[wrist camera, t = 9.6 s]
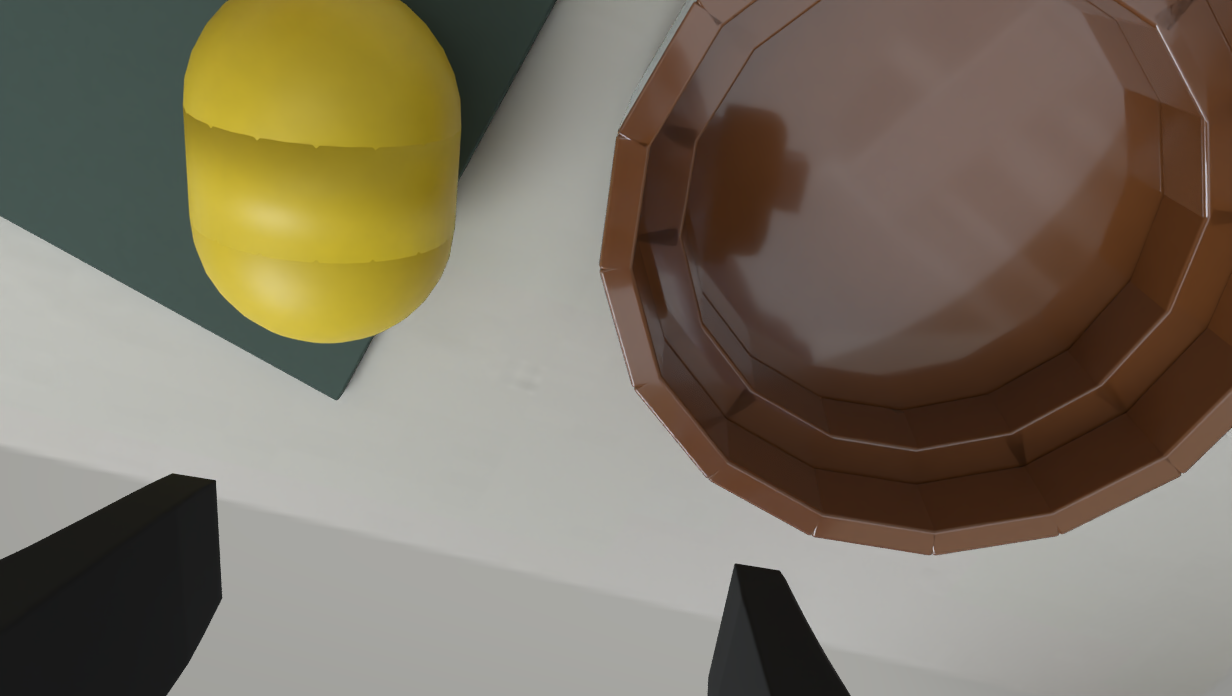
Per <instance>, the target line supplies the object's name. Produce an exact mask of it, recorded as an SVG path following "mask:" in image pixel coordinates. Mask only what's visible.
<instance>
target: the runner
mask: <svg viewBox="0 0 1232 696" xmlns="http://www.w3.org/2000/svg"><path fill="white" fill-rule="evenodd" d="M227 1H228V0H0V216H1V217H3V218H5V219H7V220H9V221H10V222H12V223H14V224H16V225H18V226H20V227H21V228H23V229H25V230H27V231H29V232H30V233H32V234H34V235H36V236H38V237H40V238H41V239H43V240H45V241H47V242H49V243H51V244H52V245H54V246H56V247H58V248H60V249H61V250H63V251H65V252H67V253H69V254H71V255H72V256H74V257H76V258H78V259H80V260H81V261H83V262H85V263H87V264H89V265H91V266H92V267H94V268H96V269H98V270H100V271H101V272H103V273H105V274H107V275H109V276H111V277H112V278H114V279H116V280H118V281H120V282H122V283H123V284H125V285H127V286H129V287H131V288H132V289H134V290H136V291H138V292H140V293H142V294H143V295H145V296H147V297H149V298H151V299H152V300H154V301H156V302H158V303H160V304H162V305H163V306H165V307H167V308H169V309H171V310H172V311H174V312H176V313H178V314H180V315H182V316H183V317H185V318H187V319H189V320H191V321H193V322H194V323H196V324H198V325H200V326H202V327H203V328H205V329H207V330H209V331H211V332H213V333H214V334H216V335H218V336H220V337H222V338H223V339H225V340H227V341H229V342H231V343H233V344H234V345H236V346H238V347H240V348H242V349H243V350H245V351H247V352H249V353H251V354H253V355H254V356H256V357H258V358H260V359H262V360H264V361H265V362H267V363H269V364H271V365H273V366H274V367H276V368H278V369H280V370H282V371H284V372H285V373H287V374H289V375H291V376H293V377H294V378H296V379H298V380H300V381H302V382H304V383H305V384H307V385H309V386H311V387H313V388H314V389H316V390H318V391H320V392H322V393H324V394H325V395H327V396H329V397H331V398H333V399H335V400H338V399H339V398H340V396H341V395H342V394H343V392H344V390H345V388H346V387H347V385H348V383H349V381H350V379H351V377H352V376H353V374H354V372H355V370H356V368H357V366H358V364H359V363H360V361H361V359H362V357H363V355H364V353H365V352H366V350H367V348H368V346H369V344H370V342H371V341H372V339H373V337H374V336H370V337H367V338H364V339H359V340H353V341H348V342H342V343H313V342H307V341H301V340H296V339H292V338H288V337H284V336H281V335H278V334H276V333H273V332H271V331H269V330H267V329H266V328H264V327H262V326H260V325H258V324H256V323H255V322H253V321H251V320H250V319H248V318H247V317H245V316H244V315H242V314H241V313H240V312H239V311H238V310H237V309H236V308H235V307H234V306H233V305H231V304H230V303H229V302H228V301H227V300H226V299H225V298H224V297H223V296H222V295H221V294H220V292H219V291H218V289H217V288H216V287H215V285H214V284H213V282H212V281H211V279H210V278H209V277H208V275H207V274H206V272H205V269H204V267H203V264H202V262H201V260H200V257H199V255H198V252H197V250H196V247H195V244H194V240H193V235H192V229H191V223H190V217H189V201H188V184H187V167H186V150H185V134H184V117H183V92H184V77H185V73H186V70H187V66H188V62H189V59H190V55H191V51H192V49H193V48H194V46H195V44H196V42H197V40H198V38H199V36H200V35H201V33H202V31H203V29H204V27H205V25H206V24H207V22H208V21H209V20H210V19H211V18H212V17H213V16H214V14H215V13H216V12H217V11H218V10H219V9H220V8H221V7H222V5H223V4H224V3H225V2H227ZM400 1H402V2H403V3H405V4H406V5H407V6H408V7H409V8H410V9H411V10H412V11H413V12H414V13H415V14H416V15H417V16H418V17H419V18H420V19H421V20H422V21H423V22H424V23H425V24H426V25H427V26H428V28H429V29H430V31H431V32H432V33H433V35H434V36H435V38H436V39H437V41H438V42H439V44H440V45H441V46H442V48H443V49H444V52H445V54H446V56H447V58H448V61H449V63H450V65H451V67H452V70H453V72H454V74H455V79H456V83H457V87H458V91H459V96H460V103H461V140H460V156H459V171H458V181H459V179H460V177H461V175H462V173H463V172H464V170H465V168H466V166H467V164H468V162H469V161H470V159H471V157H472V155H473V153H474V151H475V149H476V148H477V146H478V144H479V142H480V140H481V138H482V137H483V135H484V133H485V131H486V129H487V127H488V126H489V124H490V122H491V120H492V118H493V116H494V115H495V113H496V111H497V109H498V107H499V105H500V104H501V102H502V100H503V98H504V96H505V94H506V93H507V91H508V89H509V87H510V85H511V83H512V82H513V80H514V78H515V76H516V74H517V72H518V70H519V69H520V67H521V65H522V63H523V61H524V59H525V58H526V56H527V54H528V52H529V50H530V48H531V47H532V45H533V43H534V41H535V39H536V37H537V36H538V34H539V32H540V30H541V28H542V26H543V25H544V23H545V21H546V19H547V17H548V15H549V14H550V12H551V10H552V8H553V6H554V4H555V2H556V1H557V0H400Z"/></svg>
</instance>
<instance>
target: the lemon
mask: <svg viewBox="0 0 1232 696" xmlns="http://www.w3.org/2000/svg"><path fill="white" fill-rule="evenodd" d="M183 117H184V134H185V150H186V167H187V184H188V201H189V217H190V223H191V229H192V235H193V240H194V244H195V247H196V250H197V252H198V255H199V257H200V260H201V262H202V264H203V267H204V269H205V272H206V274H207V275H208V277H209V278H210V279H211V281H212V282H213V284H214V285H215V287H216V288H217V289H218V291H219V292H220V294H221V295H222V296H223V297H224V298H225V299H226V300H227V301H228V302H229V303H230V304H231V305H233V306H234V307H235V308H236V309H237V310H238V311H239V312H240V313H241V314H242V315H244V316H245V317H247V318H248V319H250V320H251V321H253V322H255V323H256V324H258V325H260V326H262V327H264V328H266V329H267V330H269V331H271V332H273V333H276V334H278V335H281V336H284V337H288V338H292V339H296V340H301V341H307V342H313V343H342V342H348V341H353V340H359V339H364V338H367V337H370V336H374V335H376V334H378V333H381V332H383V331H385V330H387V329H388V328H390V327H392V326H394V325H396V324H398V323H399V322H401V321H402V320H404V319H405V318H407V317H408V316H409V315H410V314H411V313H412V312H413V311H414V310H416V309H417V308H418V307H419V306H420V305H421V304H422V303H423V302H424V301H425V299H426V298H427V297H428V296H429V294H430V293H431V291H432V290H433V288H434V287H435V285H436V284H437V283H438V281H439V280H440V278H441V276H442V274H443V271H444V269H445V266H446V264H447V261H448V259H449V256H450V251H451V245H452V239H453V234H454V230H455V218H456V202H457V187H458V171H459V156H460V140H461V103H460V96H459V91H458V87H457V83H456V79H455V74H454V72H453V70H452V67H451V65H450V63H449V61H448V58H447V56H446V54H445V52H444V49H443V48H442V46H441V45H440V44H439V42H438V41H437V39H436V38H435V36H434V35H433V33H432V32H431V31H430V29H429V28H428V26H427V25H426V24H425V23H424V22H423V21H422V20H421V19H420V18H419V17H418V16H417V15H416V14H415V13H414V12H413V11H412V10H411V9H410V8H409V7H408V6H407V5H406V4H405V3H403V2H402V1H400V0H228V1H227V2H225V3H224V4H223V5H222V7H221V8H220V9H219V10H218V11H217V12H216V13H215V14H214V16H213V17H212V18H211V19H210V20H209V21H208V22H207V24H206V25H205V27H204V29H203V31H202V33H201V35H200V36H199V38H198V40H197V42H196V44H195V46H194V48H193V49H192V51H191V55H190V59H189V62H188V66H187V70H186V73H185V77H184V92H183Z"/></svg>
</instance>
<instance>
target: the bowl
mask: <svg viewBox="0 0 1232 696" xmlns="http://www.w3.org/2000/svg"><path fill="white" fill-rule="evenodd" d="M599 266H600V276H601V279H602V283H603V286H604V290H605V293H606V297H607V300H608V304H609V307H610V311H611V314H612V318H613V321H614V325H615V328H616V332H617V335H618V339H619V342H620V346H621V350H622V353H623V357H624V360H625V364H626V367H627V371H628V374H629V378H630V381H631V384H632V386H633V387H634V390H635V391H636V393H637V394H638V395H639V396H640V398H641V399H642V400H643V401H644V402H645V404H646V405H647V406H648V407H649V409H650V410H651V411H652V412H653V413H654V415H655V416H656V417H657V418H658V420H659V421H660V422H661V423H662V424H663V426H664V427H665V428H666V429H667V431H668V432H669V433H670V434H671V435H672V437H673V438H674V439H675V440H676V442H677V443H678V444H679V445H680V446H681V448H682V449H683V450H684V451H685V453H686V454H687V455H688V456H689V457H690V459H691V460H692V461H693V462H694V464H695V465H696V466H697V467H698V468H699V470H700V471H701V472H702V473H703V475H704V476H705V477H706V478H709V480H710V481H711V482H713V483H715V484H717V485H718V486H720V487H722V488H724V489H726V490H728V491H729V492H731V493H733V494H735V495H737V496H738V497H740V498H742V499H744V500H746V501H748V502H749V503H751V504H753V505H755V506H757V507H758V508H760V509H762V510H764V511H766V512H768V513H769V514H771V515H773V516H775V517H777V518H778V519H780V520H782V521H784V522H786V523H788V524H789V525H791V526H793V527H795V528H797V529H798V530H800V531H802V532H804V533H806V534H808V535H812V536H814V537H818V538H824V539H830V540H836V541H843V542H849V543H855V544H861V545H868V546H874V547H880V548H887V549H893V550H899V551H905V552H912V553H918V554H924V555H931V554H933V555H941V554H947V553H953V552H960V551H966V550H972V549H979V548H985V547H991V546H998V545H1004V544H1010V543H1017V542H1023V541H1029V540H1036V539H1042V538H1048V537H1055V536H1058V535H1059V533H1060V534H1065V533H1067V532H1069V531H1071V530H1073V529H1075V528H1077V527H1079V526H1081V525H1083V524H1085V523H1087V522H1089V521H1091V520H1093V519H1095V518H1097V517H1099V516H1101V515H1103V514H1105V513H1107V512H1109V511H1111V510H1113V509H1115V508H1117V507H1119V506H1121V505H1123V504H1125V503H1127V502H1129V501H1131V500H1133V499H1135V498H1137V497H1139V496H1141V495H1143V494H1145V493H1148V492H1150V491H1152V490H1154V489H1156V488H1158V487H1160V486H1162V485H1164V484H1166V483H1168V482H1170V481H1172V480H1174V479H1176V478H1178V477H1180V476H1181V473H1185V472H1187V471H1188V470H1189V469H1190V468H1191V467H1192V466H1193V465H1194V464H1195V463H1196V462H1197V461H1198V460H1199V459H1200V458H1201V457H1202V456H1203V455H1204V454H1205V453H1206V452H1207V451H1208V450H1209V449H1210V448H1211V447H1212V446H1213V445H1214V444H1215V443H1216V442H1217V441H1218V440H1219V439H1221V438H1222V437H1223V436H1224V435H1225V434H1226V433H1227V432H1228V431H1229V430H1230V429H1231V428H1232V0H687V1H686V3H685V5H684V7H683V8H682V10H681V12H680V13H679V15H678V17H677V19H676V20H675V22H674V24H673V26H672V27H671V29H670V31H669V32H668V34H667V36H666V38H665V39H664V41H663V43H662V44H661V46H660V48H659V50H658V51H657V53H656V55H655V57H654V58H653V60H652V62H651V63H650V65H649V67H648V69H647V70H646V72H645V74H644V76H643V77H642V79H641V81H640V82H639V84H638V86H637V88H636V89H635V91H634V93H633V95H632V96H631V99H630V102H629V104H628V107H627V109H626V112H625V114H624V117H623V119H622V122H621V125H620V127H619V130H618V134H617V137H616V142H615V150H614V157H613V165H612V172H611V179H610V187H609V194H608V202H607V209H606V217H605V224H604V232H603V239H602V246H601V254H600V261H599Z"/></svg>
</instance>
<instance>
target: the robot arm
mask: <svg viewBox="0 0 1232 696" xmlns="http://www.w3.org/2000/svg"><path fill="white" fill-rule="evenodd" d="M221 599H222V587H221V569H220V550H219V531H218V513H217V494H216V480H210V479H204V478H198V477H192V476H185V475H179V474H170V475H168V476H166V477H164V478H161V479H159V480H157V481H155V482H153V483H151V484H149V485H147V486H145V487H143V488H141V489H139V490H137V491H135V492H133V493H131V494H129V495H127V496H125V497H123V498H121V499H120V500H118V501H116V502H114V503H112V504H110V505H108V506H106V507H104V508H103V509H100V510H98V511H97V512H95V513H93V514H91V515H89V516H87V517H85V518H83V519H81V520H79V521H77V522H75V523H73V524H71V525H69V526H68V527H66V528H64V529H62V530H60V531H58V532H56V533H54V534H52V535H50V536H48V537H46V538H44V539H42V540H40V541H38V542H37V543H34V544H33V545H30V546H28V547H26V548H24V549H22V550H20V551H18V552H16V553H14V554H12V555H9V556H7V557H5V558H3V559H1V560H0V696H166V695H167V694H168V692H169V691H170V689H171V688H172V687H173V685H174V684H175V682H176V681H177V679H178V678H179V676H180V675H181V673H182V672H183V670H184V669H185V667H186V666H187V665H188V663H189V661H190V659H191V657H192V656H193V654H194V652H195V650H196V648H197V646H198V645H199V643H200V641H201V639H202V637H203V635H204V633H205V631H206V629H207V627H208V625H209V623H210V621H211V619H212V617H213V615H214V613H215V611H216V609H217V607H218V605H219V603H220V601H221ZM708 696H850V694H849V692H848V691H847V689H846V687H845V686H844V684H843V682H842V681H841V679H840V678H839V676H838V674H837V673H836V671H835V669H834V668H833V666H832V665H831V663H830V661H829V660H828V658H827V656H826V654H825V653H824V651H823V649H822V647H821V646H820V644H819V642H818V640H817V639H816V637H815V635H814V633H813V631H812V629H811V628H810V626H809V624H808V622H807V620H806V618H805V617H804V615H803V613H802V611H801V609H800V607H799V605H798V603H797V601H796V599H795V597H794V595H793V593H792V591H791V589H790V587H789V585H788V583H787V581H786V579H785V578H784V576H783V575H782V574H781V572H780V571H779V570H773V569H766V568H760V567H754V566H748V565H741V564H735V565H734V569H733V574H732V578H731V582H730V587H729V591H728V595H727V599H726V604H725V608H724V612H723V617H722V621H721V625H720V630H719V634H718V638H717V643H716V647H715V651H714V655H713V660H712V664H711V668H710V673H709V677H708Z"/></svg>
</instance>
